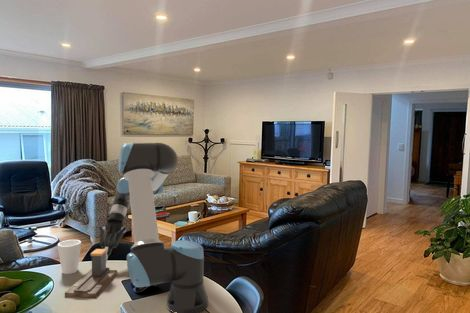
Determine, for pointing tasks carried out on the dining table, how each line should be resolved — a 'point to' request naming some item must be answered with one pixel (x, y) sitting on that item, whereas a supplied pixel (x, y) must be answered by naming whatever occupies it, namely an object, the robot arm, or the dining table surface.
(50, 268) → the dining table surface
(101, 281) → the brown wooden flat board
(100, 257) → the fader tab
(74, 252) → the foam cup
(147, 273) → the robot arm
